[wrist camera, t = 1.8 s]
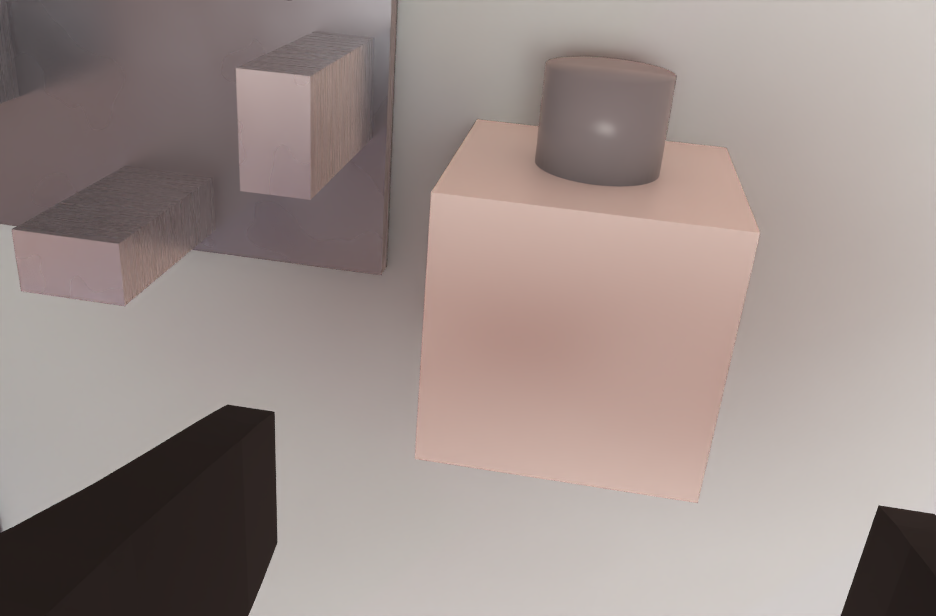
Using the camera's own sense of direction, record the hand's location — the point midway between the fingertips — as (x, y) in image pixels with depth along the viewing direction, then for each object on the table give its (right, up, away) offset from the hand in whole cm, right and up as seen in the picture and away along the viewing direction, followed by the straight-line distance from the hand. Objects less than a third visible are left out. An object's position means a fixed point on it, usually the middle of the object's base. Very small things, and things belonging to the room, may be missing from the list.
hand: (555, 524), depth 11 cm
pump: (+1, +4, +8) cm, 9 cm away
